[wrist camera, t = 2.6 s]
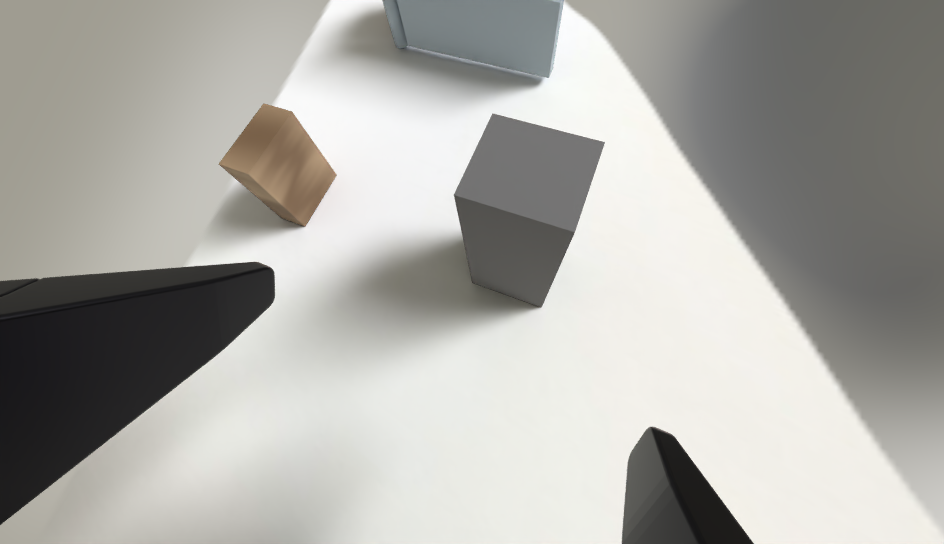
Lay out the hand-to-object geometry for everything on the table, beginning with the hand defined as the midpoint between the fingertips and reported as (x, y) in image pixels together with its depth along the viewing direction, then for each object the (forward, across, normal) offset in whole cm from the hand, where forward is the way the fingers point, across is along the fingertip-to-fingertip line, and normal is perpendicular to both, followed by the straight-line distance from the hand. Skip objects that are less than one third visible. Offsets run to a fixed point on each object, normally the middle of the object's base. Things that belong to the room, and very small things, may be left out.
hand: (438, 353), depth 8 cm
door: (+26, +10, -8) cm, 29 cm away
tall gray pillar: (+15, 0, +4) cm, 15 cm away
